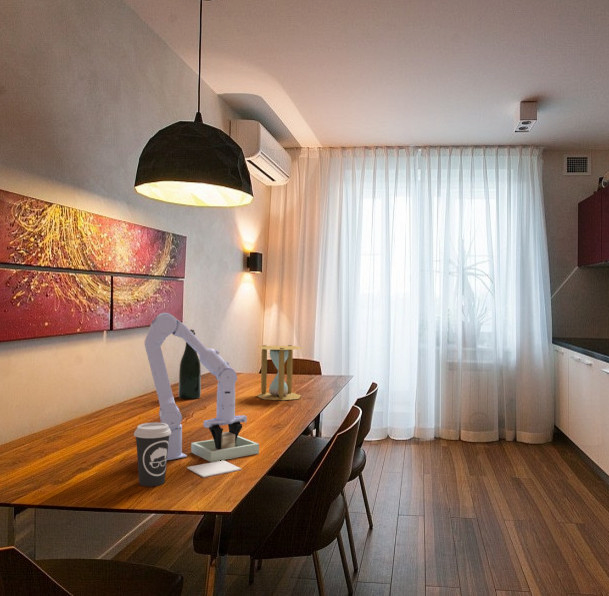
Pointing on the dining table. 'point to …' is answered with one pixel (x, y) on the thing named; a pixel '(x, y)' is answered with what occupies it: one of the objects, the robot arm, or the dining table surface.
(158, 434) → the coffee cup
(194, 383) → the dark green wine bottle
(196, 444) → the pale grey-green open frame
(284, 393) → the hourglass
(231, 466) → the white mat
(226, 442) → the ash block
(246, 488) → the dining table surface
